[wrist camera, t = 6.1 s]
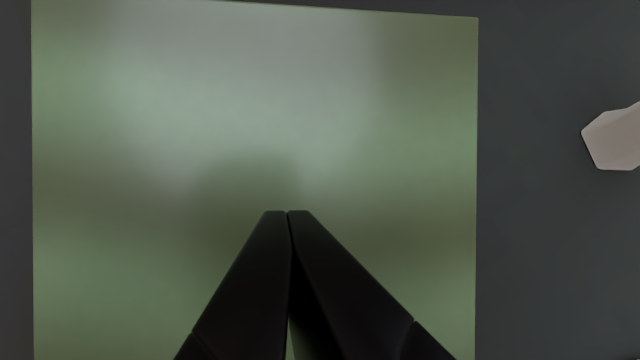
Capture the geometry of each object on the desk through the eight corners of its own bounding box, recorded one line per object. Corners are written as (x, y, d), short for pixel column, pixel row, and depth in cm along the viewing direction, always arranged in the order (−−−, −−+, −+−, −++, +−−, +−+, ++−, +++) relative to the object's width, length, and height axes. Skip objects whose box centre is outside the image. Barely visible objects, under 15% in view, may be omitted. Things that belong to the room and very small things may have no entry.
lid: (43, -2, 12) (29, -14, 11) (466, 25, 14) (479, 16, 13) (47, 439, 12) (33, 458, 11) (462, 402, 14) (474, 416, 13)
